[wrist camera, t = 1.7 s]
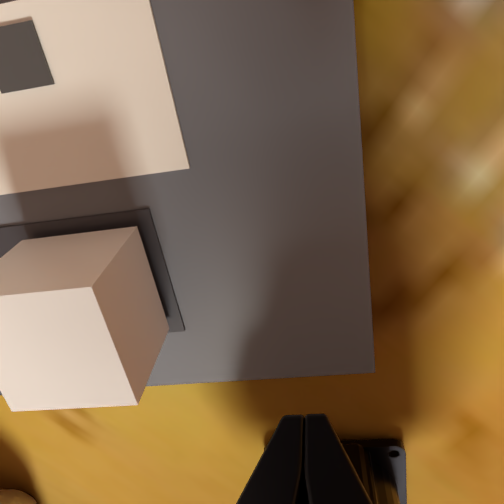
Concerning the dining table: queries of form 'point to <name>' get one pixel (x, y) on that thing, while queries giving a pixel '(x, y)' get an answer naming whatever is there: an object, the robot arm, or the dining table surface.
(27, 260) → the peach cube
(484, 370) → the dining table surface
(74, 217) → the switch board
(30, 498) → the heart
